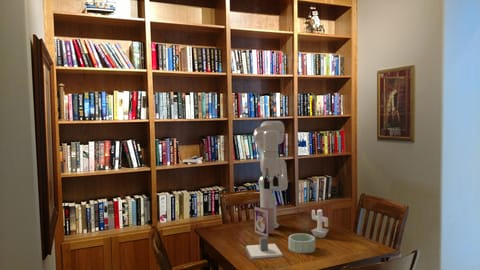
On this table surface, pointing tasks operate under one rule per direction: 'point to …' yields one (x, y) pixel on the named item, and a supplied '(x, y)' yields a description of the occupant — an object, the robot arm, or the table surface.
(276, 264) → the table surface
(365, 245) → the table surface
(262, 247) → the lid
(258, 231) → the greeting card
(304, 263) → the table surface
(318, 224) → the figurine
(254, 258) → the mat
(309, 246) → the bowl
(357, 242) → the table surface
